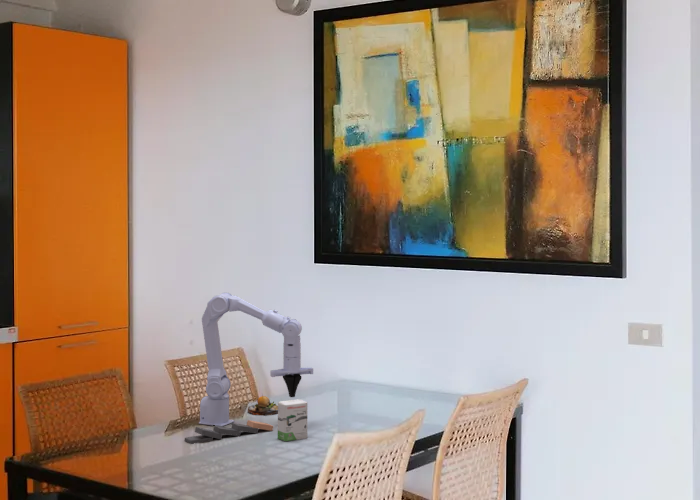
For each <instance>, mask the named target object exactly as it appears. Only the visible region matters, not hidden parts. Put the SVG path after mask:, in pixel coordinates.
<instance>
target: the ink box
mask: <svg viewBox="0 0 700 500" xmlns="http://www.w3.org/2000/svg"><path fill="white" fill-rule="evenodd" d="M277 405H278V414H277V439H278V440H281V441H283V442H291V441H297V440H298V441H299V440H302V439H303V440H305V439H308V402H307V401H305V400H303V399H301V398H297V399H290V400H289V399H288V400H282V401H281V400H279V402H277Z"/></svg>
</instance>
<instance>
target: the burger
mask: <svg viewBox="0 0 700 500" xmlns="http://www.w3.org/2000/svg"><path fill="white" fill-rule="evenodd" d="M270 400H271V399H270V398H269V397H268V396H264V395H263V394H262V395H261V396H259V397H258V399H257V402H256V404H254V405H251V406H248V408H247V413H248V414H251V415H253V416H256V415H257V416H263V417H264V416H274V415H275V416H276V415H278V404H276V403H275V401H273V402H271V401H270Z"/></svg>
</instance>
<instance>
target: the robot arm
mask: <svg viewBox="0 0 700 500" xmlns="http://www.w3.org/2000/svg"><path fill="white" fill-rule="evenodd" d="M228 312H242V313H245V314H247V315H248V316H250V317H254V318H256V319H257V320H260V321H261V323H262V325H263V326H264V327H267V328H269V329H270V330H273V331H275V332H277V333H279V334H282V336H283V349H282V350H283V353H282V354H283V356H282V357H283V361H282V363H283V367H282V368H279V369H273V370H270V372H269V373H270V377H272V378H275V377H282V378H283V381H284V383H285V384H286V388H287V391H288V397H290V398H295V397H296V393H297V390H298V387H299V385H300V382H301V381H302V375H314V368H313V367H301V363H302V362H301V361H302V360H301V357H302V356H301V355H302V353H301V350H302V349H301V347H302V346H301V333H302V330H303V327H302V324H301V323H300V321H298V320H297V319H295V318H293V319H291V317H290V316H287V317H286V316H285V315H282V314H281V313H279V310H277V309H274V310H272V309H269V310H264V309H262V308H260V307H258V306H256V305H254V304H253V303H250V302H249V301H247V300H246V299H243V298H242V297H239V296H238V295H235V294H234V295H232V294H231V293H229V292H222V293H219V294H217V295H214V296H213V297H212V298H211V299H210V300H209V301H208V302H207V305H206V307H205V310H204V311H203V314H202V317H201V324H202V332H203V333H202V334H203V340H204V346H205V352H206V354H205V355H206V360H207V362H206V363H207V368H208V372H207V377H206V379H207V380H206V381H207V383H206V386H205V392H206V394H207V395H206V396H203V397H202V398H201V401H200V404H199V422H198V424H200V425H208V426H213V425H215V426H220V427H226V426H227V425H229V424H232V423H234V422H235V420H233V419H230V395H229V393H228V392H229V391H230V389H231V386H232V385H231V381H230V379H229V378H228V375H227V371H226V369H225V366H224V359H223V353H222V352H223V351H222V346H221V345H222V343H221V337H220V329H219V324H218V323H219V321H220V320H221V318H222V317H223V316H224V315H225V314H226V313H228Z"/></svg>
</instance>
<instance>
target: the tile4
mask: <svg viewBox="0 0 700 500" xmlns="http://www.w3.org/2000/svg"><path fill="white" fill-rule="evenodd" d="M194 433H196V434H199V435H204V436H209V437H213V439H218V440H222V436H223V434H219V433H217V432H215V431H213V430H211V429H206V428H202V427H199V426H198V427H197V426H195V429H194Z"/></svg>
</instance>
